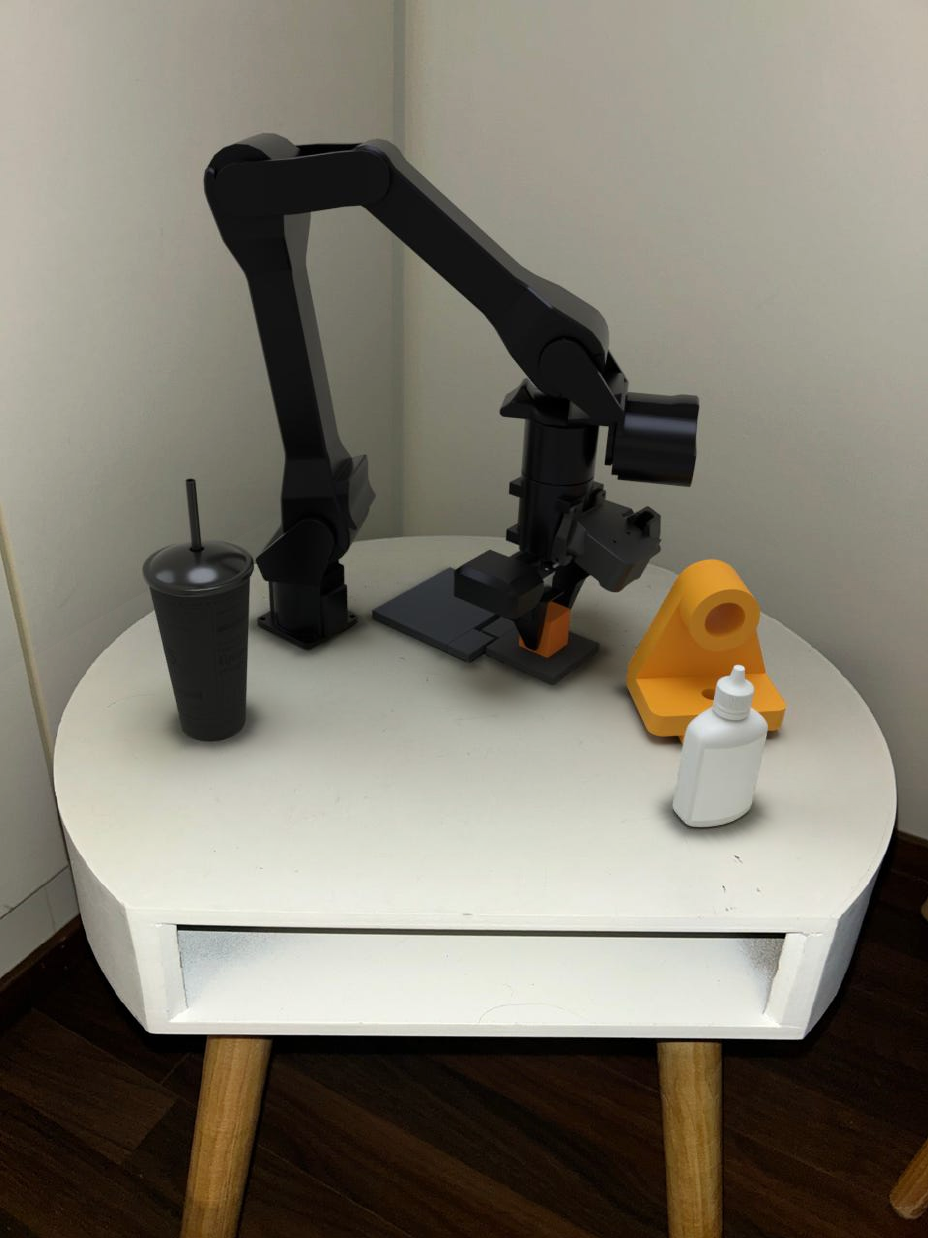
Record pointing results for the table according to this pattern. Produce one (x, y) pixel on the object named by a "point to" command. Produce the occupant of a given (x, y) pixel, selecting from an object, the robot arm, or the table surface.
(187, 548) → the drinking cup
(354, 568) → the table surface
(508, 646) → the black pad
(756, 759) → the eye dropper bottle
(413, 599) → the charcoal pad
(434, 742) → the table surface
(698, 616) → the bracket
